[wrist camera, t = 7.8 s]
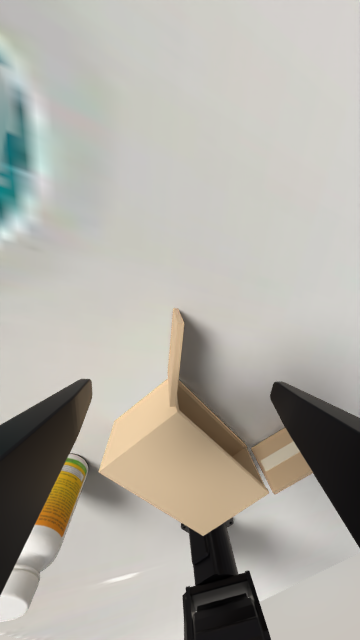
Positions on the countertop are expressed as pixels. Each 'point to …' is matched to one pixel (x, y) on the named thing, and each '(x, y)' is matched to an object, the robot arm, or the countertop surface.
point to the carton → (182, 460)
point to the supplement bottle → (44, 539)
